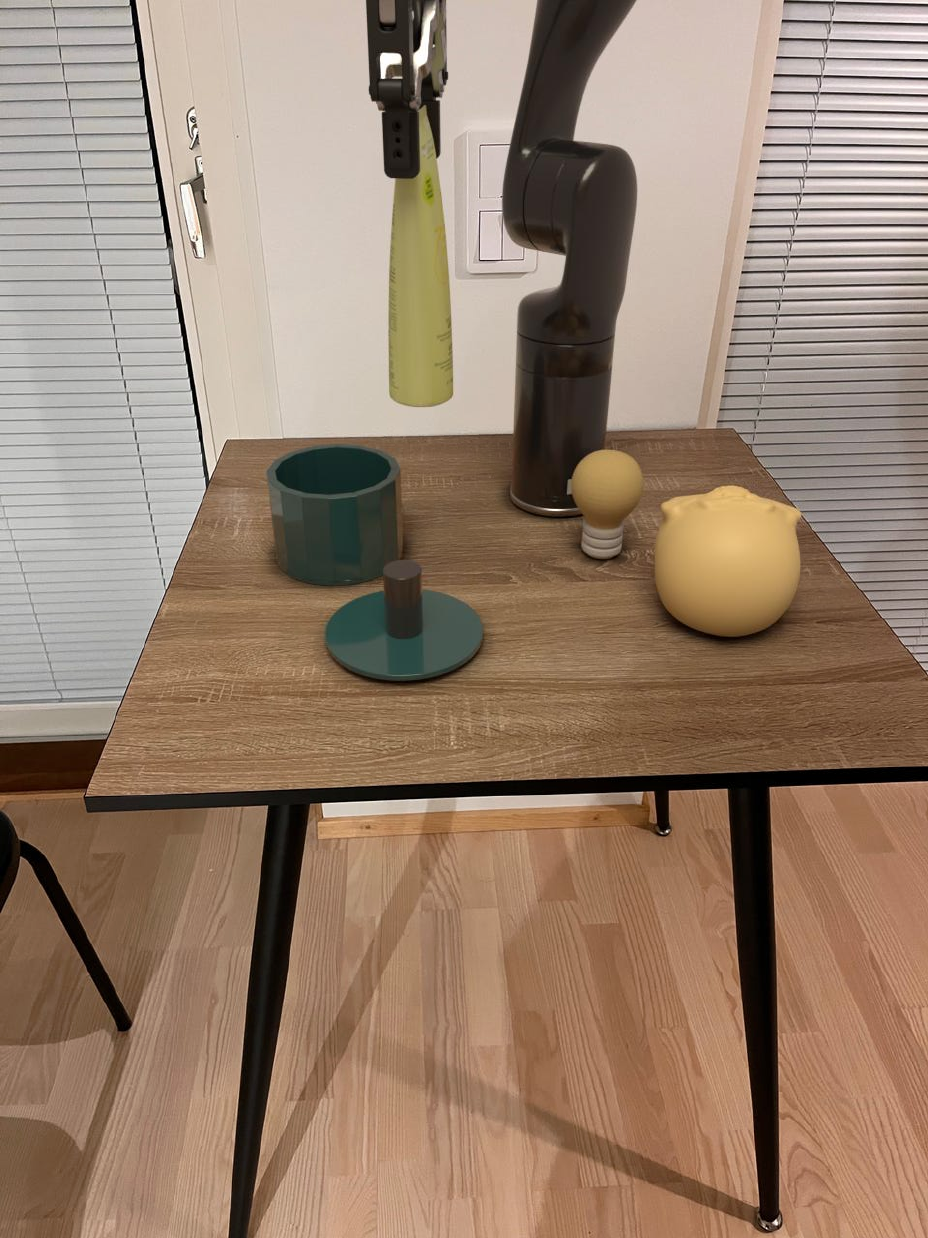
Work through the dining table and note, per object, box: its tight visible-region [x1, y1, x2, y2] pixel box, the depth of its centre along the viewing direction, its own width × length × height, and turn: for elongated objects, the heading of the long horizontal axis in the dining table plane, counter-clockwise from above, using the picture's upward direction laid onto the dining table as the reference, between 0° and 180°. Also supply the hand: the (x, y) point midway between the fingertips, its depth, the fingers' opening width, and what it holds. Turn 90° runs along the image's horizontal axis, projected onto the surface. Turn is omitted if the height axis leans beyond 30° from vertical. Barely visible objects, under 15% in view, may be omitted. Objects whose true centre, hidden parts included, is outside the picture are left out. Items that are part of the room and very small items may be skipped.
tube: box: [387, 105, 454, 408], centre depth 68 cm, size 6×5×20 cm
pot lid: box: [324, 559, 484, 682], centre depth 75 cm, size 13×13×7 cm
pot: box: [265, 443, 404, 587], centre depth 87 cm, size 12×12×8 cm
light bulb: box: [571, 449, 644, 560], centre depth 87 cm, size 6×6×10 cm
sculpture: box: [653, 485, 802, 638], centre depth 78 cm, size 12×12×11 cm
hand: (414, 167), depth 64 cm, fingers closed on tube, 7 cm apart
